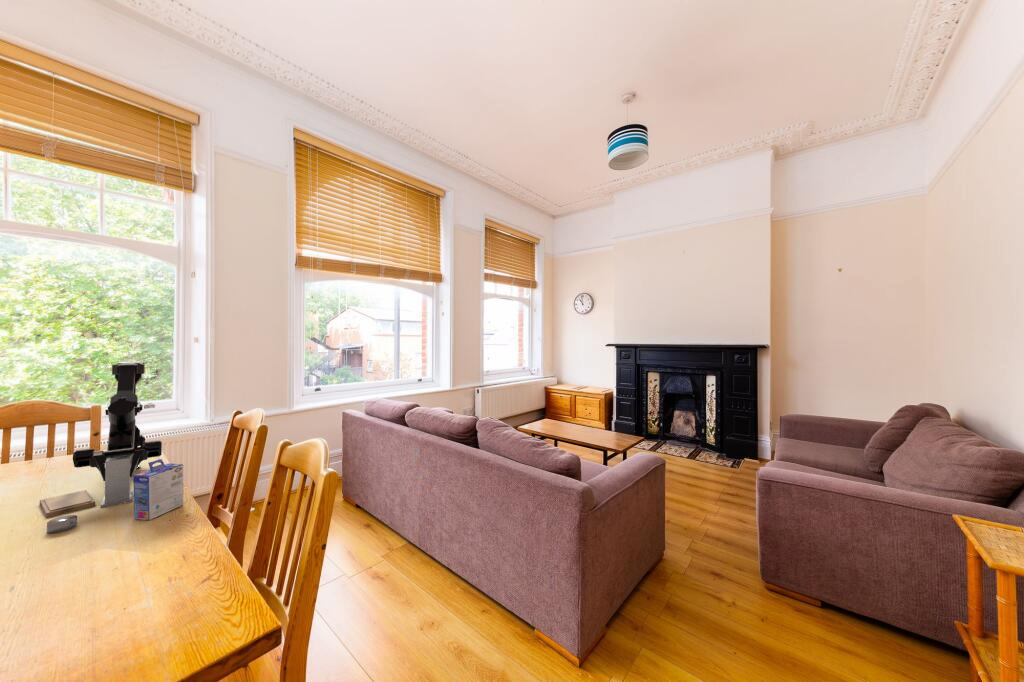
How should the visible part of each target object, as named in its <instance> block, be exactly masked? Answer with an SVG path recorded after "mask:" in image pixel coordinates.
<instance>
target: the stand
mask: <svg viewBox="0 0 1024 682" xmlns="http://www.w3.org/2000/svg"><path fill="white" fill-rule="evenodd" d="M96 503H97V502H96V500H95V499H94V498H93V496H92V495H91V494H90V493H89V492H88V490H87V489H86V490H80V491H75V492H71V493H66V494H61V495H56V496H53V497H51V496H50V497H47V498H44V499H40V500H39V506H40V508H41V510H42V512H43V513H44V516H45V518H50V517H55V516H59V515H63V514H67V513H72V512H76V511H79V510H83V509H86V508H87V507H88V508H91V507H95V506H96Z"/></svg>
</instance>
